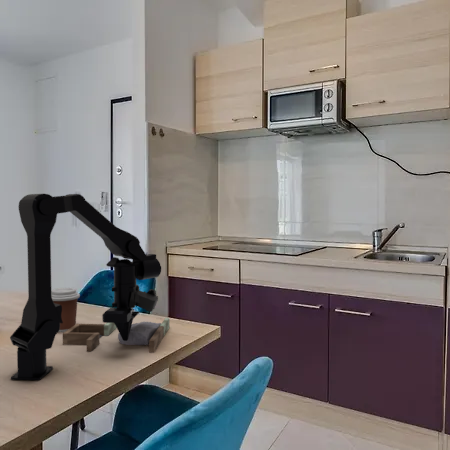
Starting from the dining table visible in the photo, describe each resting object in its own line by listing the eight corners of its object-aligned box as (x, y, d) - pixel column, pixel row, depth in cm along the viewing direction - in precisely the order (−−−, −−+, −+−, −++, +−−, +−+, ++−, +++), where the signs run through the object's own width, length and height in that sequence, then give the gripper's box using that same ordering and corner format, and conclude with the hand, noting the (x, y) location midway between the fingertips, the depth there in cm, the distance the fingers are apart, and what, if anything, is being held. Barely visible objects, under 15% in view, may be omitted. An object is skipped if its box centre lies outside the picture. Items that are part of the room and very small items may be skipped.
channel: (153, 352, 104) (153, 340, 104) (54, 350, 105) (54, 339, 105) (169, 327, 126) (169, 317, 126) (87, 326, 127) (87, 316, 127)
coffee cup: (86, 326, 127) (86, 288, 127) (65, 334, 118) (65, 293, 118) (62, 323, 130) (62, 286, 130) (41, 331, 122) (40, 291, 121)
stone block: (116, 351, 111) (150, 345, 109) (112, 333, 111) (147, 327, 109) (133, 338, 122) (164, 333, 120) (130, 322, 122) (161, 317, 121)
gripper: (146, 289, 99) (147, 353, 99) (162, 277, 117) (162, 330, 118) (101, 288, 99) (102, 352, 100) (124, 276, 118) (124, 330, 118)
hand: (125, 340), depth 109 cm, fingers closed
